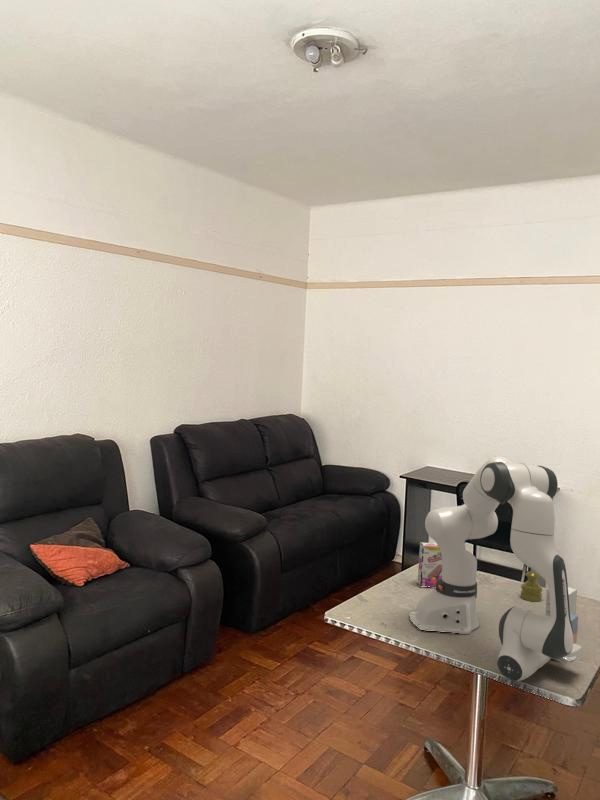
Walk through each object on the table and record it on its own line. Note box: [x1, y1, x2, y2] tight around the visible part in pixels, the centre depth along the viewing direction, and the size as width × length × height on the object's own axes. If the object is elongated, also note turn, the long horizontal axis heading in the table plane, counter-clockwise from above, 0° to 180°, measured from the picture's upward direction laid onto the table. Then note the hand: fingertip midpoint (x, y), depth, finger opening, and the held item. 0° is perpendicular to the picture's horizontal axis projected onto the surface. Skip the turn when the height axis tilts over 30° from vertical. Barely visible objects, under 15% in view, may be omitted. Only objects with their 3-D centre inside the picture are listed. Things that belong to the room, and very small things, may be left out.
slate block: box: [570, 614, 579, 635], centre depth 194 cm, size 6×6×5 cm
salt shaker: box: [520, 570, 543, 602], centre depth 234 cm, size 7×7×10 cm
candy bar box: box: [417, 542, 442, 587], centre depth 243 cm, size 11×5×16 cm, turn 94°
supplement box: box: [544, 586, 578, 617], centre depth 210 cm, size 7×7×13 cm
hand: (553, 635), depth 189 cm, fingers closed on walnut block, 4 cm apart
